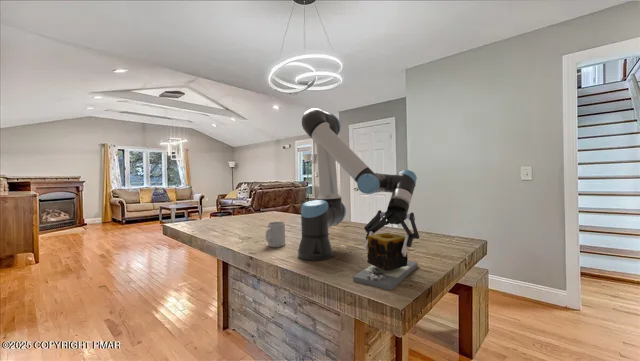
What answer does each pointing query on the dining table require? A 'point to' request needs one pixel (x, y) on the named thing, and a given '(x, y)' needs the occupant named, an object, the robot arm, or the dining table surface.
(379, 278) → the gear board
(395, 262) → the candle
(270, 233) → the mug
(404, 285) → the dining table surface
